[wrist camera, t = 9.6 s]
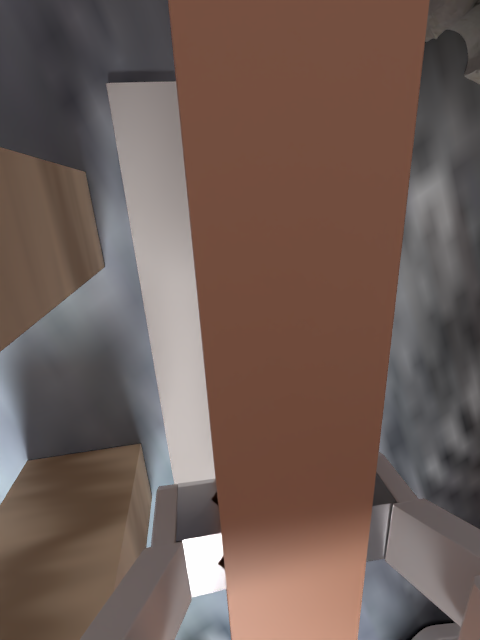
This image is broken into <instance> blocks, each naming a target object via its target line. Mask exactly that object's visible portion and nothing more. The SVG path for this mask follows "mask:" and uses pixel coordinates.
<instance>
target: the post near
mask: <svg viewBox="0 0 480 640" xmlns="http://www.w3.org/2000/svg"><path fill="white" fill-rule="evenodd" d="M104 267H105V265H104V260H103V256H102V251H101V246H100V241H99V236H98V231H97V226H96V221H95V216H94V212H93V207H92V202H91V197H90V192H89V187H88V182H87V177H86V172H84V171H80V170H77V169H73V168H70V167H67V166H63V165H60V164H56V163H53V162H49V161H46V160H42V159H39V158H36V157H32V156H29V155H25V154H22V153H18V152H15V151H12V150H8V149H5V148H1V147H0V352H1V351H2V350H3V349H4V348H5V347H7V346H8V345H9V344H10V343H12V342H13V341H14V340H15V339H17V338H18V337H19V336H20V335H21V334H23V333H24V332H25V331H26V330H28V329H29V328H30V327H31V326H33V325H34V324H35V323H36V322H38V321H39V320H40V319H41V318H42V317H44V316H45V315H46V314H47V313H49V312H50V311H51V310H52V309H54V308H55V307H56V306H57V305H59V304H60V303H61V302H62V301H63V300H65V299H66V298H67V297H68V296H70V295H71V294H72V293H73V292H75V291H76V290H77V289H78V288H79V287H81V286H82V285H83V284H84V283H86V282H87V281H88V280H89V279H91V278H92V277H93V276H94V275H96V274H97V273H98V272H99V271H100V270H102V269H103V268H104Z"/></svg>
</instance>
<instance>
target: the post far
mask: <svg viewBox="0 0 480 640" xmlns="http://www.w3.org/2000/svg"><path fill="white" fill-rule="evenodd" d="M151 501H152V495H151V490H150V485H149V481H148V476H147V471H146V466H145V461H144V456H143V451H142V446H141V444H134V445H128V446H121V447H114V448H108V449H101V450H95V451H88V452H82V453H75V454H68V455H62V456H55V457H49V458H42V459H36V460H29V461H27V462H26V464H25V465H24V467H23V469H22V470H21V472H20V474H19V475H18V477H17V479H16V480H15V482H14V483H13V485H12V487H11V488H10V490H9V492H8V493H7V495H6V497H5V498H4V500H3V501H2V503H1V505H0V640H80V638H81V637H82V636H83V634H84V633H85V631H86V630H87V629H88V627H89V626H90V624H91V623H92V621H93V620H94V619H95V617H96V616H97V614H98V613H99V612H100V610H101V609H102V607H103V606H104V605H105V603H106V602H107V600H108V599H109V598H110V596H111V595H112V593H113V592H114V591H115V589H116V588H117V586H118V585H119V584H120V582H121V581H122V579H123V578H124V576H125V575H126V574H127V572H128V571H129V569H130V568H131V567H132V565H133V564H134V562H135V561H136V560H137V558H138V557H139V555H140V554H141V553H142V551H143V550H144V548H146V544H147V536H148V527H149V518H150V509H151Z"/></svg>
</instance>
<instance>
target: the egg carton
mask: <svg viewBox="0 0 480 640" xmlns="http://www.w3.org/2000/svg"><path fill="white" fill-rule="evenodd" d="M445 30H452V31H456V32H457V33H459V34H461V36H462V37H463V38H464V39H465V42H466V45H467V50H468V63H467V68H466V71H465V73H464V76H465V77H466V78H468V79H470V80H472V81H474V82H476V83H478V84H479V85H480V0H430V1H429V10H428V19H427V27H426V36H425V42H428V41H429V40H431V39H432V38H434V39H437V37H438V36H439V35H440V34H441V33H442V32H444V31H445Z"/></svg>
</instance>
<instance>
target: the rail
mask: <svg viewBox="0 0 480 640" xmlns="http://www.w3.org/2000/svg"><path fill="white" fill-rule="evenodd" d="M429 1H430V0H168V5H169V15H170V25H171V36H172V46H173V56H174V66H175V76H176V86H177V96H178V106H179V116H180V126H181V136H182V147H183V157H184V167H185V177H186V187H187V197H188V207H189V217H190V227H191V237H192V247H193V258H194V268H195V278H196V288H197V298H198V308H199V318H200V328H201V338H202V348H203V359H204V369H205V379H206V389H207V399H208V409H209V419H210V429H211V439H212V449H213V459H214V470H215V479H216V487H217V497H218V506H219V516H220V525H221V535H222V545H223V555H224V565H225V575H226V586H227V589H226V591H227V601H228V611H229V621H230V631H231V640H357V638H358V629H359V620H360V611H361V602H362V593H363V585H364V576H365V567H366V558H367V549H368V540H369V532H370V523H371V514H372V505H373V496H374V487H375V478H376V470H377V461H378V452H379V443H380V434H381V425H382V417H383V408H384V399H385V390H386V381H387V372H388V363H389V355H390V346H391V337H392V328H393V319H394V310H395V302H396V293H397V284H398V275H399V266H400V257H401V248H402V240H403V231H404V222H405V213H406V204H407V195H408V187H409V178H410V169H411V160H412V151H413V142H414V134H415V125H416V116H417V107H418V98H419V89H420V80H421V72H422V63H423V54H424V45H425V36H426V27H427V19H428V10H429Z"/></svg>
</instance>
